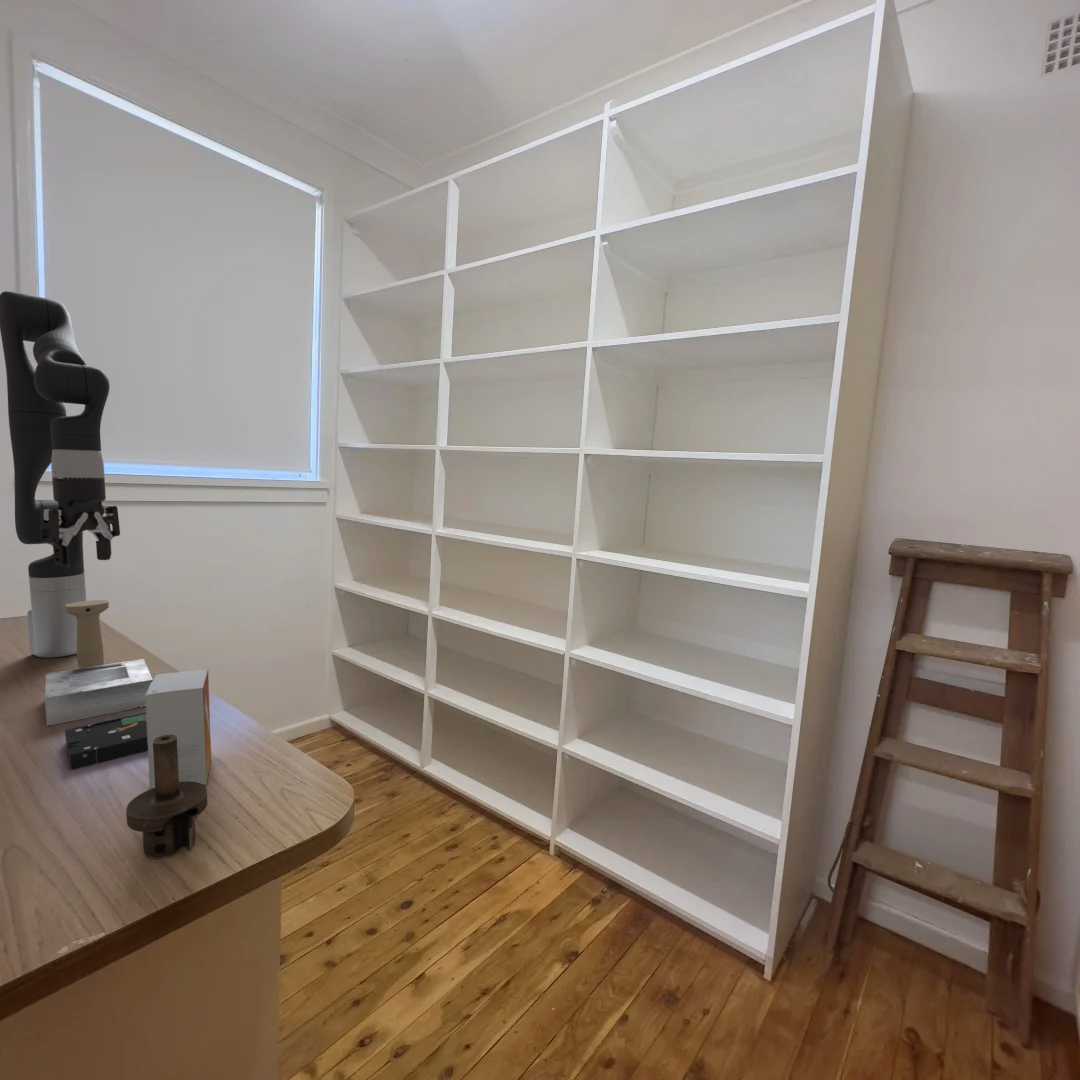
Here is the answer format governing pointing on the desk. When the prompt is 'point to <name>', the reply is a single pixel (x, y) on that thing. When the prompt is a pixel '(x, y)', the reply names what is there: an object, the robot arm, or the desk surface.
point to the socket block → (95, 691)
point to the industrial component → (167, 805)
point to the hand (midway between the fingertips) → (84, 563)
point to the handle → (88, 631)
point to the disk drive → (106, 740)
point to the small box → (181, 721)
